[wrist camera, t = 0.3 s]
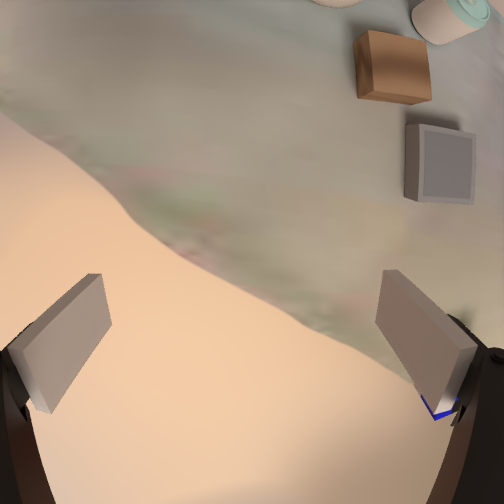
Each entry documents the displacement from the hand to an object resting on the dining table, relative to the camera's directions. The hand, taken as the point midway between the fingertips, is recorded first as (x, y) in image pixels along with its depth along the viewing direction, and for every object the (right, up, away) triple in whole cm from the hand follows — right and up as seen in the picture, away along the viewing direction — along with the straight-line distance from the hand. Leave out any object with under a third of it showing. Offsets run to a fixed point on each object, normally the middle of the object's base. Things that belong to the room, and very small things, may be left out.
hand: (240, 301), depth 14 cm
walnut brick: (+18, +26, +20) cm, 37 cm away
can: (+27, +36, +17) cm, 48 cm away
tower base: (+26, +15, +24) cm, 38 cm away
